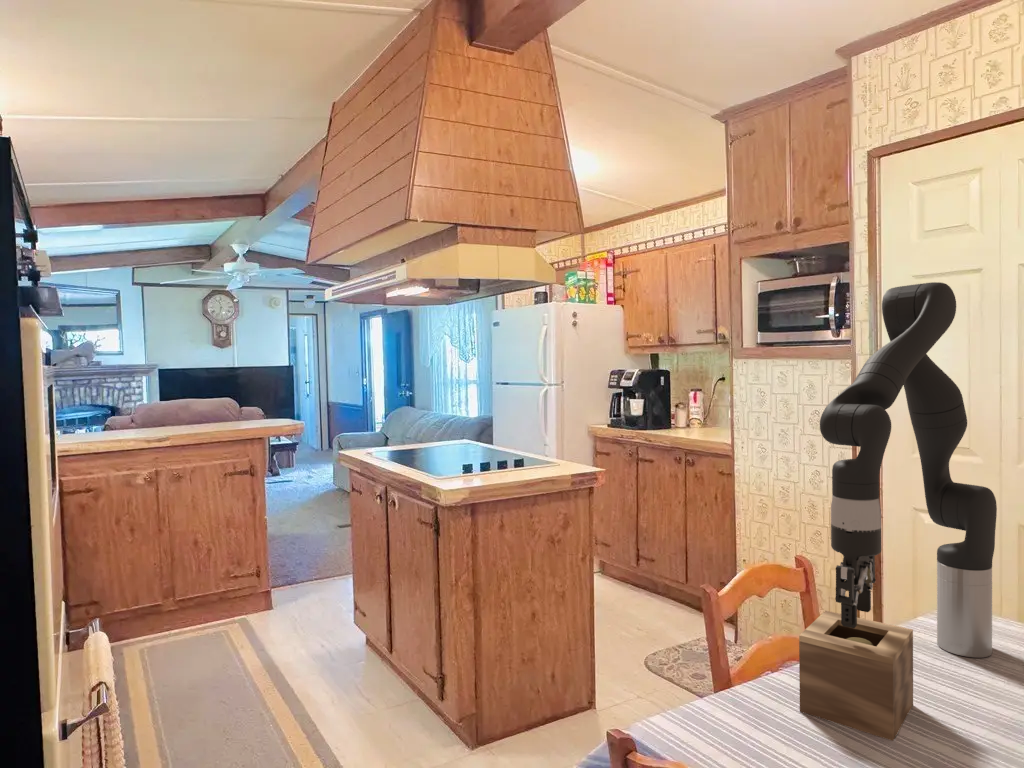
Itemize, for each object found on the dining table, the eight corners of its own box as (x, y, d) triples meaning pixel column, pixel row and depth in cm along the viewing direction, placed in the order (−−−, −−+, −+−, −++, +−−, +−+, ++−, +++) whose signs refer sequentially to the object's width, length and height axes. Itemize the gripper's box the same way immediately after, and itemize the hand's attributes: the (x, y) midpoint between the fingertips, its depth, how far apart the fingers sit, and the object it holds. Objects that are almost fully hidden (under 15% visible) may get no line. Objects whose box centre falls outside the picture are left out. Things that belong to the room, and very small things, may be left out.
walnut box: (826, 680, 124) (825, 610, 123) (913, 705, 115) (912, 629, 114) (799, 711, 113) (799, 635, 113) (893, 741, 104) (892, 658, 104)
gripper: (844, 512, 121) (844, 601, 121) (818, 528, 110) (819, 626, 111) (891, 517, 116) (891, 611, 116) (868, 535, 105) (869, 638, 106)
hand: (856, 618), depth 113 cm, fingers open, 8 cm apart
